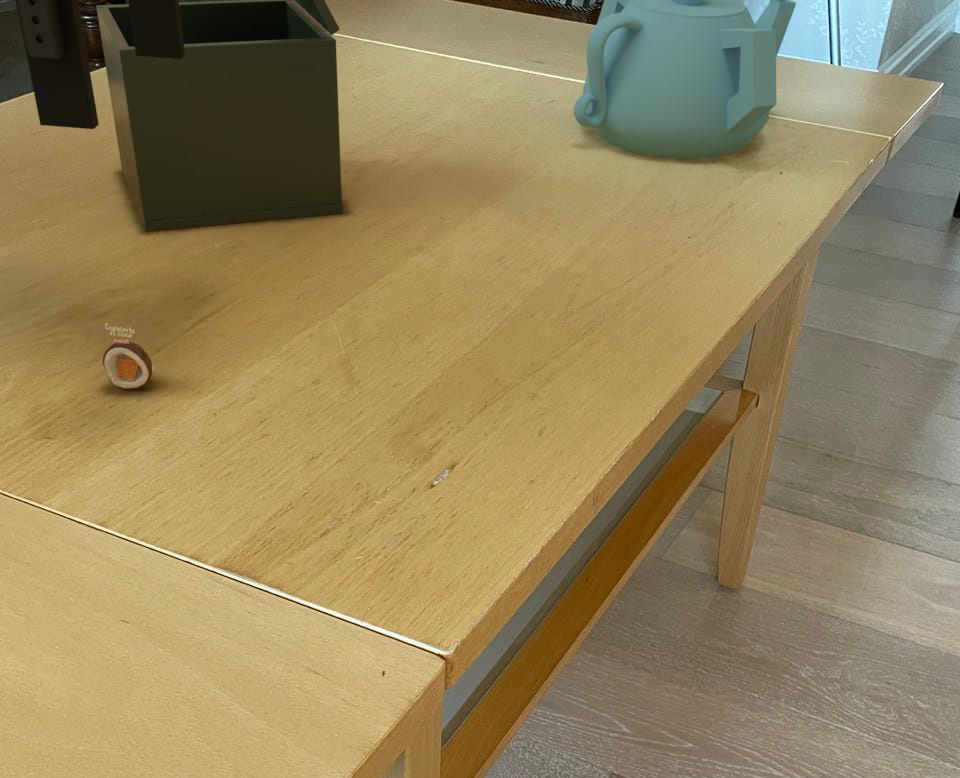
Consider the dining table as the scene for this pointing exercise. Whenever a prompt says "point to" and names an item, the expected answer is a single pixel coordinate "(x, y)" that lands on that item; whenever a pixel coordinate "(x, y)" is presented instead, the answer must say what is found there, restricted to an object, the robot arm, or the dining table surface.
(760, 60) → the teapot
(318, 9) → the bin lid
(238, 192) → the trash bin
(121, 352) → the chocolate
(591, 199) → the dining table surface
